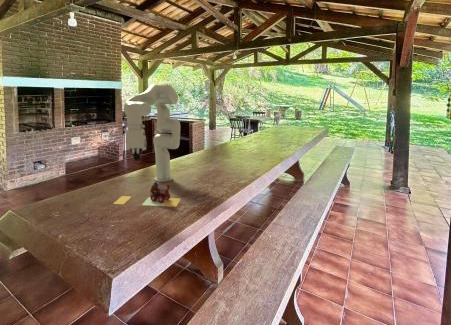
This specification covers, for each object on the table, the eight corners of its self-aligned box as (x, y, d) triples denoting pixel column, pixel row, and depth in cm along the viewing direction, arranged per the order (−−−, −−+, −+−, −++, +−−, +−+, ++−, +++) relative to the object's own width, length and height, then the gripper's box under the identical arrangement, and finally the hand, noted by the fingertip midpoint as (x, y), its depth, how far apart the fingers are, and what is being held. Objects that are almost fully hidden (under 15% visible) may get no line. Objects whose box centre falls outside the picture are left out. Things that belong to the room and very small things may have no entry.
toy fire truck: (155, 196, 170) (154, 179, 167) (172, 200, 165) (172, 182, 162) (147, 200, 164) (146, 182, 161) (165, 204, 159) (164, 186, 156)
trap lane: (121, 196, 170) (121, 196, 170) (181, 198, 168) (181, 198, 167) (112, 204, 158) (112, 203, 158) (176, 206, 156) (176, 206, 156)
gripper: (150, 126, 157) (152, 158, 162) (123, 125, 158) (126, 158, 163) (146, 128, 150) (148, 162, 155) (118, 127, 151) (120, 161, 156)
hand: (137, 160), depth 159 cm, fingers closed
